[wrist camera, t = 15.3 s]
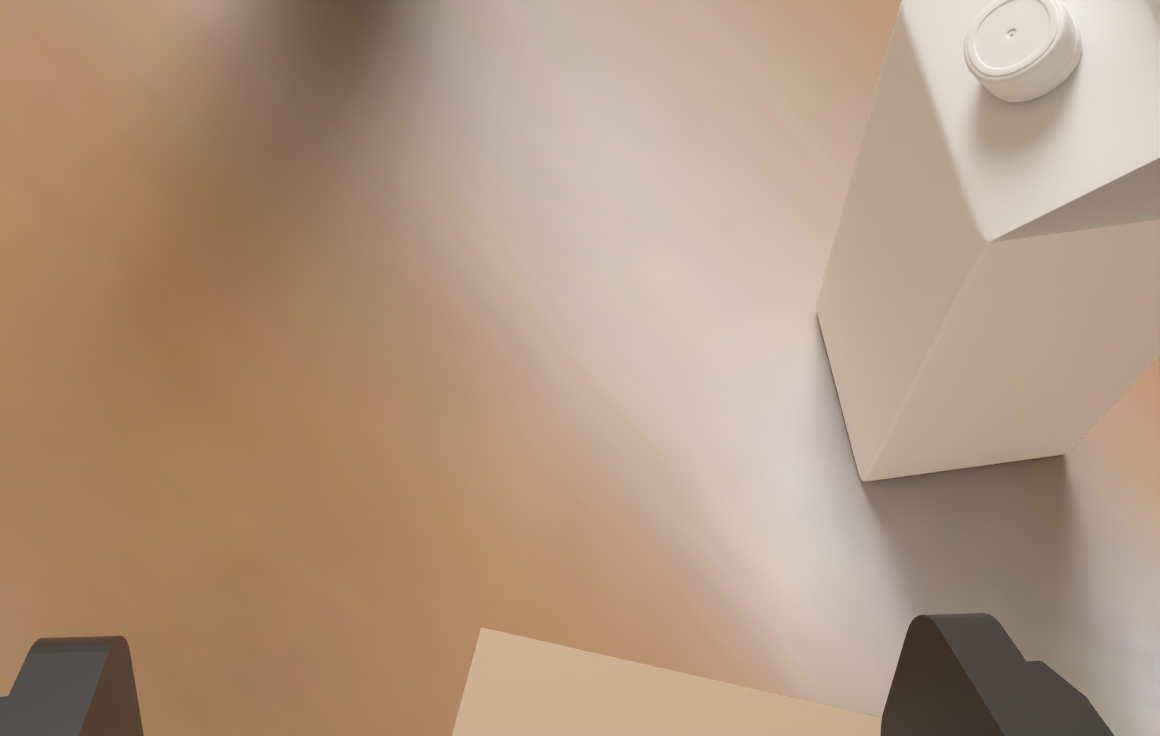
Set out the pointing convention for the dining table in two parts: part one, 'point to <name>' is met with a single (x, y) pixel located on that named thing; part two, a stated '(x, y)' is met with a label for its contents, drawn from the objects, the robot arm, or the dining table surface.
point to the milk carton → (998, 233)
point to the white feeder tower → (624, 698)
